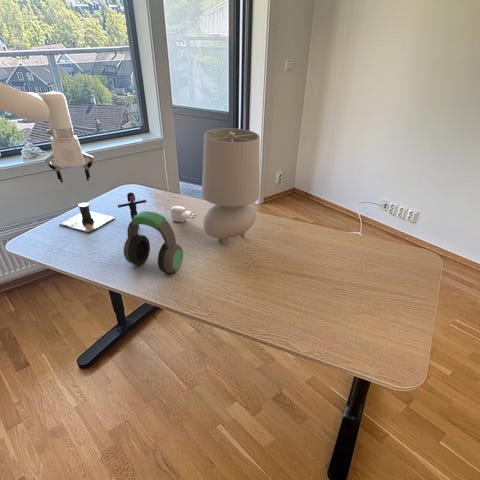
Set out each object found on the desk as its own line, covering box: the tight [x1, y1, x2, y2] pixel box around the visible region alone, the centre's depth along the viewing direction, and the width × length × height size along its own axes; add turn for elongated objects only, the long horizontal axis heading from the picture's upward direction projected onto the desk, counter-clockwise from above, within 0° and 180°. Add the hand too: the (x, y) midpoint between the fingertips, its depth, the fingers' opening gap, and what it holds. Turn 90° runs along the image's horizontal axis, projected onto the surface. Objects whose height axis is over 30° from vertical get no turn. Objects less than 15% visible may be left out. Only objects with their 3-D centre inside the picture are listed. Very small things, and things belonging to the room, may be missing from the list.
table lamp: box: [201, 127, 261, 246], centre depth 129 cm, size 23×22×40 cm
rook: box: [78, 202, 93, 223], centre depth 147 cm, size 5×5×7 cm
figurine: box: [117, 191, 147, 230], centre depth 143 cm, size 12×4×15 cm, turn 123°
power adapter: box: [170, 205, 198, 223], centre depth 152 cm, size 11×5×6 cm, turn 70°
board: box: [59, 210, 116, 235], centre depth 149 cm, size 16×16×1 cm
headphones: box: [123, 210, 184, 274], centre depth 119 cm, size 19×11×20 cm, turn 70°
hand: (75, 180), depth 137 cm, fingers open, 9 cm apart
